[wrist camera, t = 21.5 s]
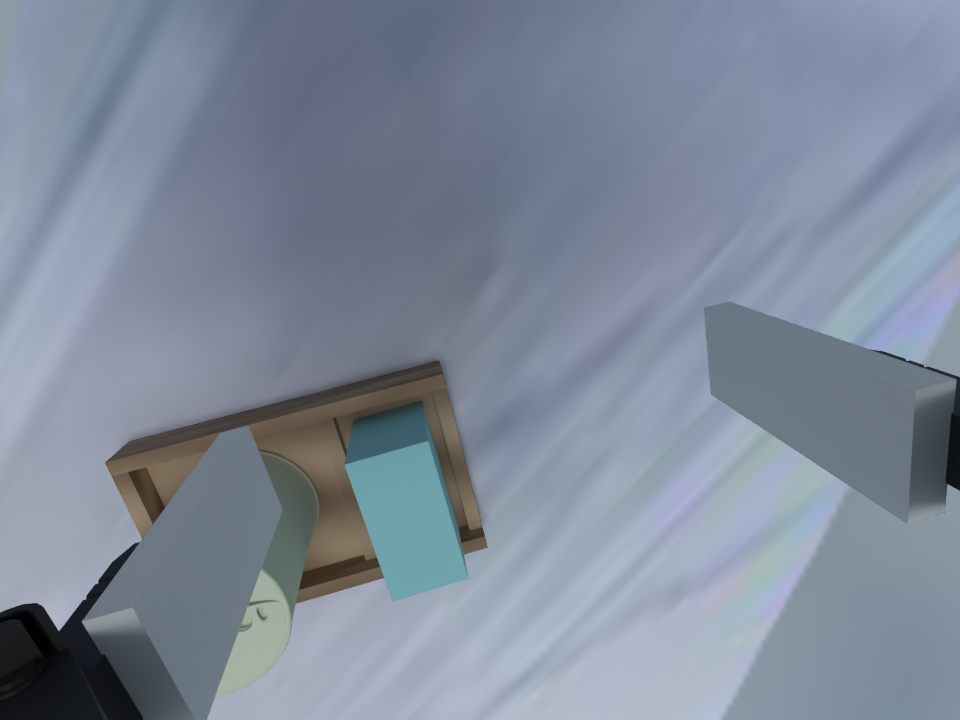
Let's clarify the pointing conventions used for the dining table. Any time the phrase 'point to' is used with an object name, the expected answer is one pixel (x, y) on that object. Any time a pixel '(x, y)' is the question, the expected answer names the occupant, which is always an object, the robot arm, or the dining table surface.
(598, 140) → the dining table surface
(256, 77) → the dining table surface
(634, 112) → the dining table surface
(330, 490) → the cradle jig
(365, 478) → the wing block
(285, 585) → the can
